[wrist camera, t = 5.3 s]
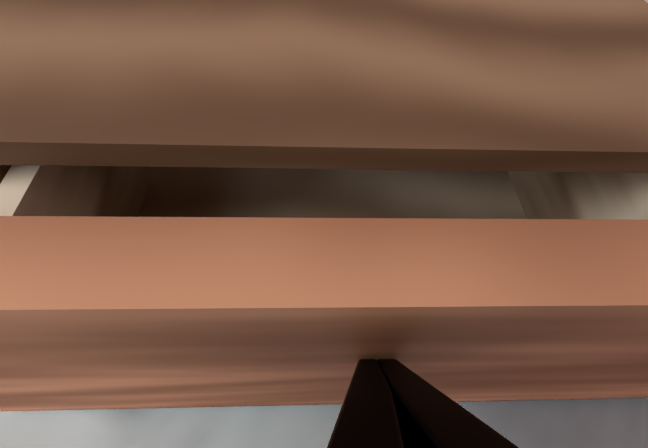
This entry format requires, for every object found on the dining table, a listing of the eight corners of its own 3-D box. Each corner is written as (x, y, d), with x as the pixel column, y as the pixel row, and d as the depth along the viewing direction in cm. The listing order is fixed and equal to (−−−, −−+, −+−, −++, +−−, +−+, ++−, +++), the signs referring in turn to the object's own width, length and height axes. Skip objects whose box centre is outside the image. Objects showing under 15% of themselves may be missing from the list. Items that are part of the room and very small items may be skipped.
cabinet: (590, 289, 17) (808, 154, 10) (68, 292, 16) (-137, 139, 9) (502, 101, 25) (586, -54, 18) (147, 93, 24) (75, -78, 16)
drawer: (660, 397, 14) (1152, 301, 6) (0, 411, 13) (-535, 313, 5) (535, 143, 22) (673, -50, 14) (116, 136, 21) (-8, -82, 13)
